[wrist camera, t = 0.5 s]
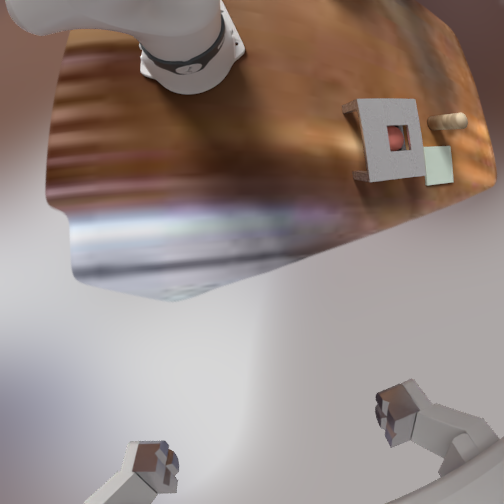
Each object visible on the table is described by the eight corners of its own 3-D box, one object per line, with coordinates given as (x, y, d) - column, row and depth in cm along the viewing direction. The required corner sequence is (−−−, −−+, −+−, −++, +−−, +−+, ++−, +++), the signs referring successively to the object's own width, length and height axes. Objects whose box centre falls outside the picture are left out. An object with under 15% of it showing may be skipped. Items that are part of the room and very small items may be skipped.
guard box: (341, 105, 49) (356, 99, 42) (395, 104, 49) (415, 99, 42) (353, 179, 53) (369, 182, 46) (405, 172, 53) (426, 175, 46)
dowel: (426, 116, 50) (455, 112, 40) (436, 116, 50) (466, 113, 40) (428, 130, 51) (458, 128, 41) (438, 130, 51) (468, 128, 41)
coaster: (421, 147, 52) (423, 147, 51) (448, 146, 52) (450, 146, 51) (425, 185, 54) (427, 185, 53) (451, 181, 54) (453, 182, 53)
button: (374, 128, 48) (381, 126, 45) (394, 127, 48) (401, 125, 45) (377, 151, 49) (385, 151, 46) (397, 149, 49) (405, 149, 47)
